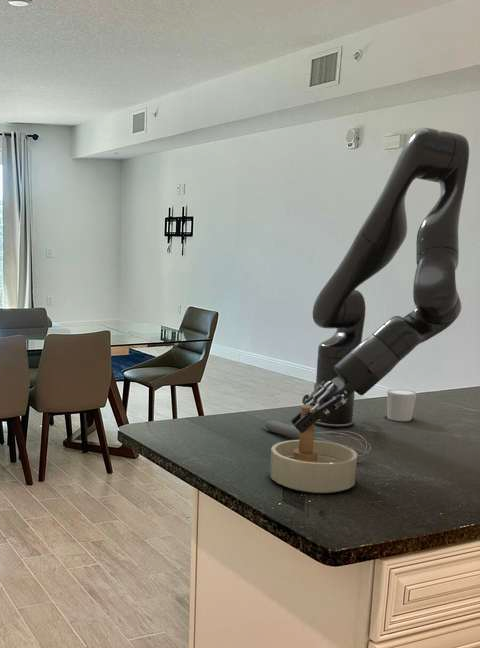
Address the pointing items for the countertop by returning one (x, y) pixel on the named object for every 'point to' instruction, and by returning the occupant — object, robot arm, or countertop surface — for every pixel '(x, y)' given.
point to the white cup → (400, 404)
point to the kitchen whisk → (295, 433)
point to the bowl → (314, 467)
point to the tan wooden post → (306, 441)
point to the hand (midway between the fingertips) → (296, 426)
